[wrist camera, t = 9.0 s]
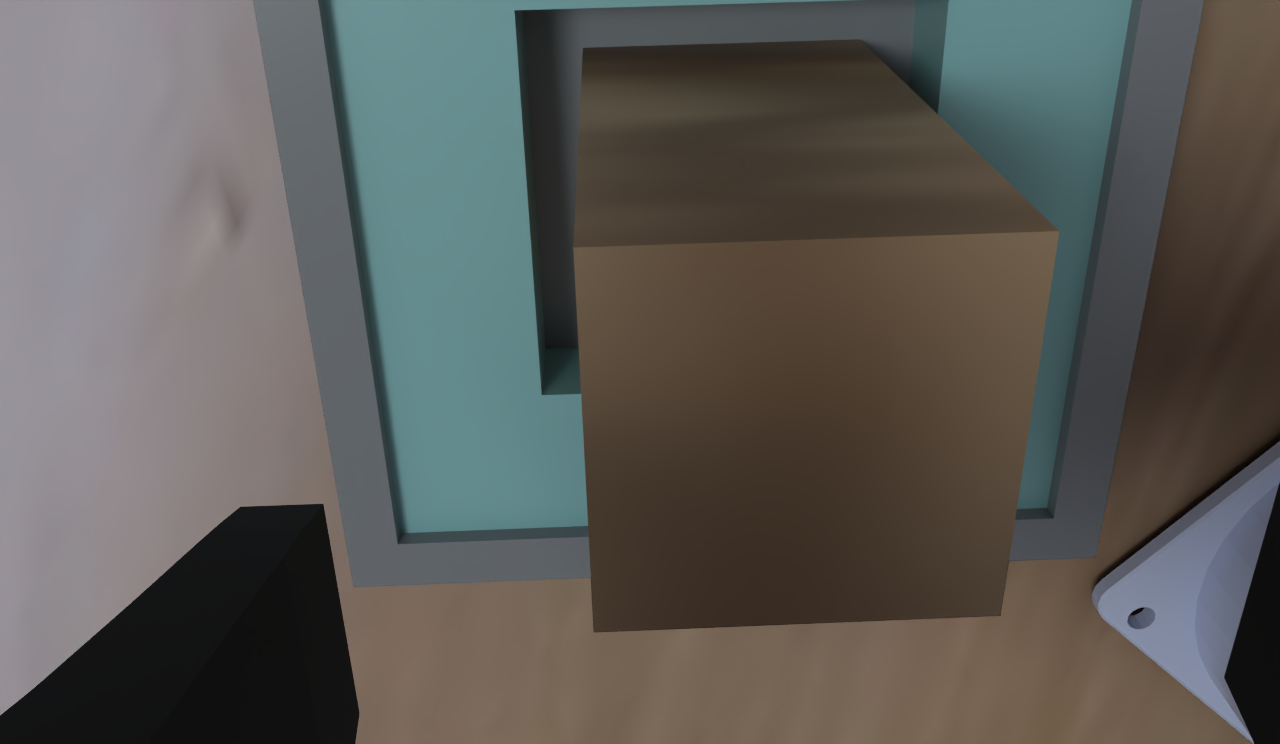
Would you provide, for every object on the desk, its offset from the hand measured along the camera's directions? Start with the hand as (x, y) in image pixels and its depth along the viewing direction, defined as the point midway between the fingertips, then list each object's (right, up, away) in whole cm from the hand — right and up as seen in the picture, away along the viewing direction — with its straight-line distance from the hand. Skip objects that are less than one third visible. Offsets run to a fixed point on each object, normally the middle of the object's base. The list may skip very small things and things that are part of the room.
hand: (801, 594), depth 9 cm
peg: (0, +5, +9) cm, 10 cm away
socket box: (0, +5, +9) cm, 10 cm away
